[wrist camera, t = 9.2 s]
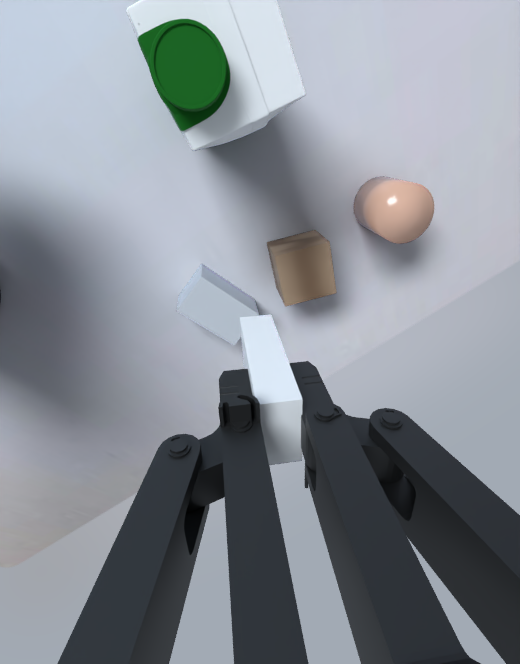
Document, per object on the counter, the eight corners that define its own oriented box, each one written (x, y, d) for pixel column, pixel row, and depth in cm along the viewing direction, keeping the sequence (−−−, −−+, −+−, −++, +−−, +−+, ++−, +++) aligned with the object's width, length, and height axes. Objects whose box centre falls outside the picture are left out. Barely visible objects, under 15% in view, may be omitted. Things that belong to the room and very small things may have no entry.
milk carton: (152, 60, 35) (99, -15, 18) (238, 15, 35) (272, -110, 17) (196, 154, 40) (188, 168, 22) (274, 115, 39) (331, 97, 21)
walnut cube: (276, 287, 48) (285, 306, 43) (266, 242, 45) (274, 256, 40) (322, 275, 48) (336, 293, 43) (314, 229, 45) (329, 241, 40)
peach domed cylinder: (351, 231, 46) (374, 245, 39) (355, 177, 43) (380, 184, 37) (399, 227, 46) (428, 241, 40) (405, 174, 43) (438, 181, 37)
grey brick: (179, 294, 47) (176, 311, 42) (201, 263, 45) (201, 276, 41) (231, 327, 50) (234, 345, 45) (254, 298, 48) (259, 314, 44)
